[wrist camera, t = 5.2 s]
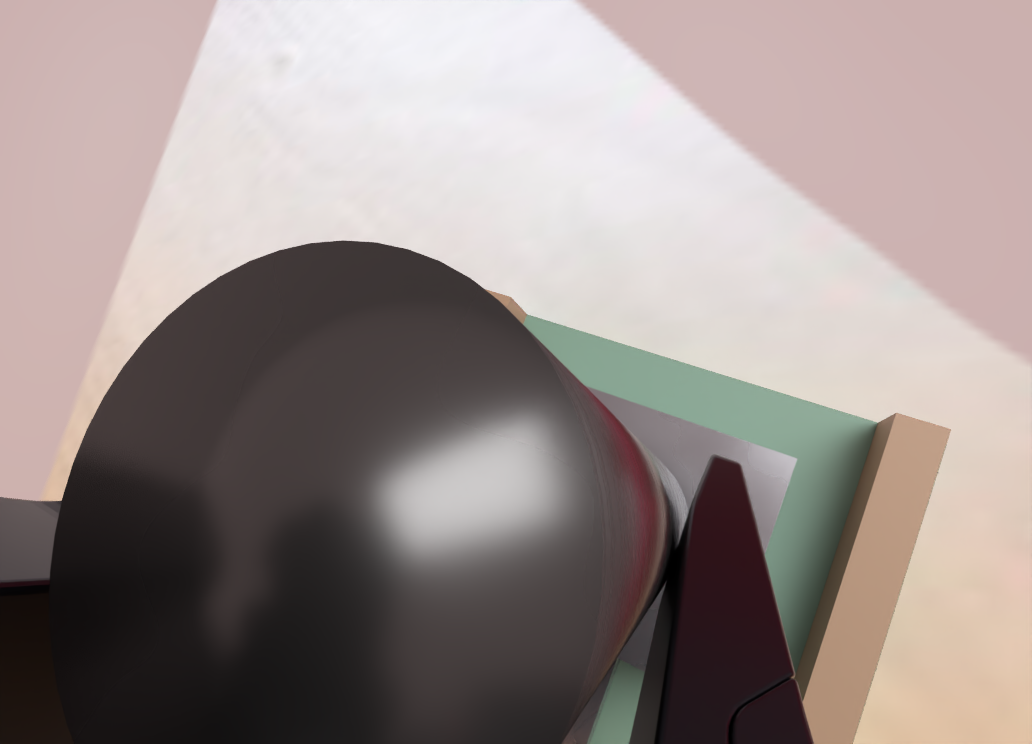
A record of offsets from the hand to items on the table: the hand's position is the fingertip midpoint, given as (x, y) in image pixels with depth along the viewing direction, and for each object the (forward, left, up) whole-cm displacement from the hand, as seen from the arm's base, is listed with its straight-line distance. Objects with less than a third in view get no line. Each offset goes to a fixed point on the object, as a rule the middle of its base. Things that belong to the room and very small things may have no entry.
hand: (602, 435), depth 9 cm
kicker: (-3, -2, -6) cm, 7 cm away
